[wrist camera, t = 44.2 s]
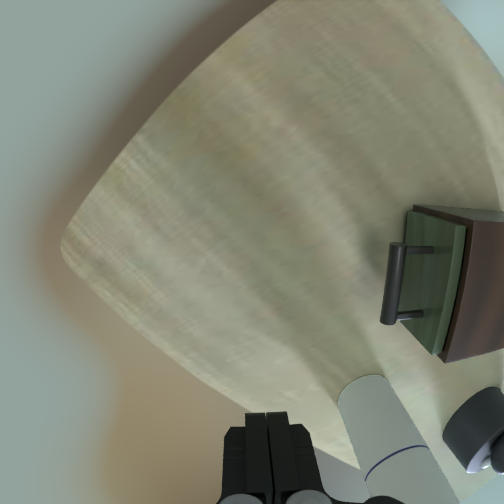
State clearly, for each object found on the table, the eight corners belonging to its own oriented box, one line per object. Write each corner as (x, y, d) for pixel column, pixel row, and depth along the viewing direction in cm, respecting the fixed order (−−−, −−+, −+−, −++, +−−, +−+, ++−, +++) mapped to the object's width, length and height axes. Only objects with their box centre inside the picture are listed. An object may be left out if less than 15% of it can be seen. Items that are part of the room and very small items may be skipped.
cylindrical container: (369, 365, 33) (466, 540, 9) (399, 389, 35) (485, 536, 11) (326, 402, 35) (382, 583, 10) (358, 423, 36) (418, 576, 12)
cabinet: (399, 317, 32) (444, 364, 22) (413, 204, 29) (474, 220, 19) (486, 305, 32) (533, 338, 23) (501, 211, 29) (559, 227, 19)
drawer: (358, 319, 31) (389, 362, 23) (368, 209, 28) (411, 223, 20) (480, 305, 31) (520, 333, 23) (495, 216, 28) (543, 230, 20)
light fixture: (462, 514, 24) (520, 452, 20) (427, 451, 39) (467, 389, 36) (509, 492, 25) (558, 432, 21) (474, 441, 40) (511, 383, 37)
